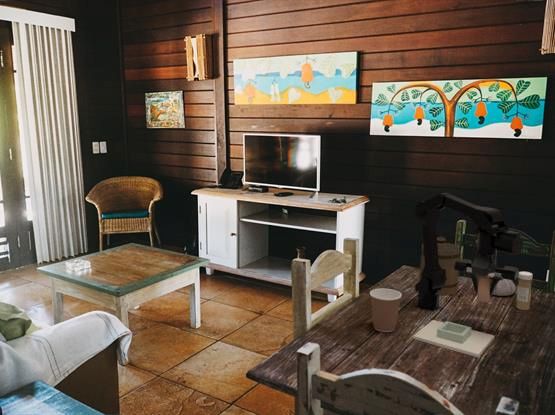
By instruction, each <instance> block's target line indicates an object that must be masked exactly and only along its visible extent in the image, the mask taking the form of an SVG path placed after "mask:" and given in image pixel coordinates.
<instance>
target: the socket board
mask: <svg viewBox="0 0 555 415" xmlns="http://www.w3.org/2000/svg"><path fill="white" fill-rule="evenodd" d="M412 338H413V340H415V341H419V342H423V343H426V344H429V345H433V346H437V347H440V348H443V349H447V350H451V351H454V352H458V353H461V354H464V355H469V356H471V357H475V358H479V357H481V355H483V353H484V352H485V351H486V349H487V348H488V347H489V345H490V344H492V342H493V340H495V335H493V334H489V333H486V332H482V331H477V330H474V329H472V327H471V326H467V325H464V324H463V325H462V324H459V323H455V322H451V321H445V322H442V321H438V320H434V319H432V320H430V321H429V322H427V324H426V325H424V327H422V328H421V329H420V330H418V331H417V332H416V333H415V334H414V335H413V336H412Z"/></svg>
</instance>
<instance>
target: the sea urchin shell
mask: <svg viewBox="0 0 555 415" xmlns="http://www.w3.org/2000/svg"><path fill="white" fill-rule="evenodd" d="M488 275H489V276H491V277H493V276H494V273H488ZM513 281H514V280H508V279H503V280H500V281H499V282H498V284H497V286H496V288H495V290H494V292H493V294H492V296H493V295H494V296H500V297H501V296H502V297H504V296H506V297H507V296H511V295H513V294H515V292H516V289H517V287H516V285H515V283H514V282H513ZM491 284H492V283H491Z"/></svg>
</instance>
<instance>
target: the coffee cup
mask: <svg viewBox="0 0 555 415" xmlns="http://www.w3.org/2000/svg"><path fill="white" fill-rule="evenodd" d="M369 295H370V302H371V303H370V304H371V312H372V313H371V314H372V315H371V316H372V324H373V328H374V329H375V330H376V331H379V332H380V333H381V332H382V333H391V332H394V331H395V329H396V326H397V321H398V316H399V309H400V303H401V298H402V293H401V292H400V291H398V290H395V289H391V288H375V289H372V290H371V291H370V292H369Z"/></svg>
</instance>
